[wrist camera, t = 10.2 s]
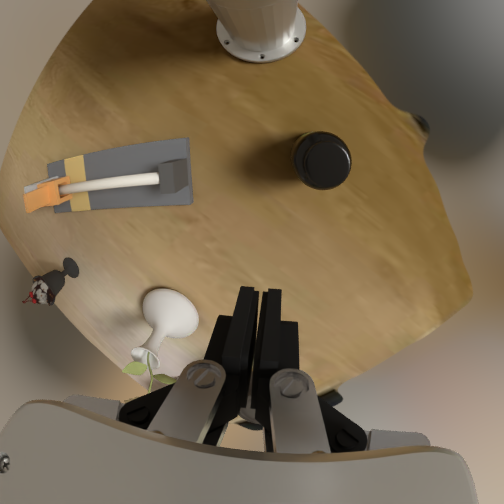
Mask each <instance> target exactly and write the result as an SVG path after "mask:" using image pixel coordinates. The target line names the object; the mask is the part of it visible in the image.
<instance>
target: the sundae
mask: <svg viewBox="0 0 504 504" xmlns="http://www.w3.org/2000/svg"><path fill="white" fill-rule="evenodd" d="M63 266H64V269H65V270H64V271H62V272H60V271H58V270H53V271H51V272H49V273H47V274H45V275H43V276H35V277H34V278H33V286H32V292H30V293H29V297H31V298H32V302H33V303H38V304H48V305H49V306H50V305H53V304H54V302H55V297H56V295H57V294H58V293H59V291H60V290H61V289H62V287H63V286H64V284H65V278H64V276H66V275H67V274H68V275H69V276H70V277H72V278H76V277H78V275H79V269H78V266H77V264H76V263H75V261H74V260H72V259H71V258H65V259H64V261H63ZM26 300H27V299H26ZM22 302H23V303H25V301H22ZM26 302H27V301H26Z"/></svg>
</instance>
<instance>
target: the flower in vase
mask: <svg viewBox="0 0 504 504" xmlns="http://www.w3.org/2000/svg"><path fill="white" fill-rule="evenodd" d="M143 313H144V316H145V319H146V320H147V322H148V324H149V325H150V326H151V327H152V328H153V332H152V334H151V335H150V337H149V338H148V340H147V341H146V342H145V343H144V344H143V345H142V346H140V347H135V348H133V349H132V351H131V356H132V358H133V359H134V362H131V363H130V364H128V365H127V366H126V367H125V368H124V369H123V371H122V372H124V373H129V374H133V375H141V374H143V373H144V372H145V371H146V369H149V371H150V375H151V382H150V386H149V390H148V394H149V393H150V390H151V386H152V382H153V377H154V378H155V379H157V380H158V381H160V382H162V383H165V384H173V383H175V382H176V381H177V380H175V379H173V378H171V377H169V376H167V375H165V374H157V375H154V376H153V374H152V370H154V369H157V368H159V366H160V362H159V359H158V351H159V348H160V345H161V343H162V341H163V339H164V338H165V336H166V337H169V338H184V337H187V336H189V335H190V334H192V333H193V332H194V331H195V330H196V329H197V327H198V323H199V317H198V313H197V311H196V309H195V307H194V305H193V304H192V303H191V301H190V300H189V299H188V298H186V297H185V296H184V295H182V294H181V293H179V292H177V291H174V290H171V289H155V290H152V291H150V292H149V293H148V294H147V295H146V296H145V298H144V301H143ZM136 398H139V397H135V398H134V399H136ZM134 399H129V400H125V401H124V402H125V403H124V404H126V403H127V402H129V401H131V400H134Z"/></svg>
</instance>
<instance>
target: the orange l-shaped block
mask: <svg viewBox="0 0 504 504" xmlns="http://www.w3.org/2000/svg"><path fill="white" fill-rule="evenodd" d="M66 184H70V177H69V176H65V177H60V178H56V179H51V180H49V181H46V182H43V183H40V184H38V185H37V188H38V189H35V190H33V191H30V192H28V193H25V194H23V197H24V202H25V207H26V212H27V213H30V212H32V211H34V210H36V209H38V208H40V207H45V206H53V205H59V204H61V203H63V202H65V201H67V200H70V199H72V198H73V197H72V193H71V194H64V195H59V189H58V186H61V185H66Z"/></svg>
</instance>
